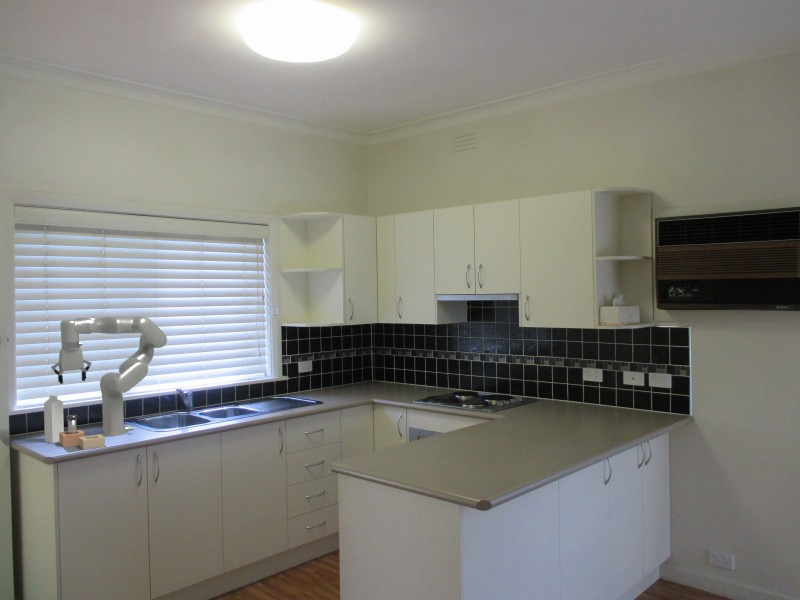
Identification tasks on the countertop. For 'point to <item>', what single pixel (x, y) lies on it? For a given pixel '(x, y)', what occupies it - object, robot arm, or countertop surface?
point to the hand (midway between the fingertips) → (72, 382)
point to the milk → (53, 419)
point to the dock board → (80, 441)
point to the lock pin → (71, 424)
